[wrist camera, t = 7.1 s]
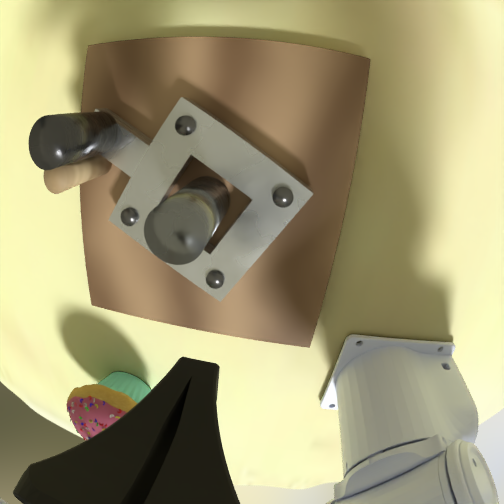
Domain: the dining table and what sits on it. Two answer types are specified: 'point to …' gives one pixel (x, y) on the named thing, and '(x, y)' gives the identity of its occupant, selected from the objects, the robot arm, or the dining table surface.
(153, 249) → the post
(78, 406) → the cupcake
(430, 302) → the dining table surface
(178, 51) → the board
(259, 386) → the dining table surface
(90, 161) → the dowel
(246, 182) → the flange
